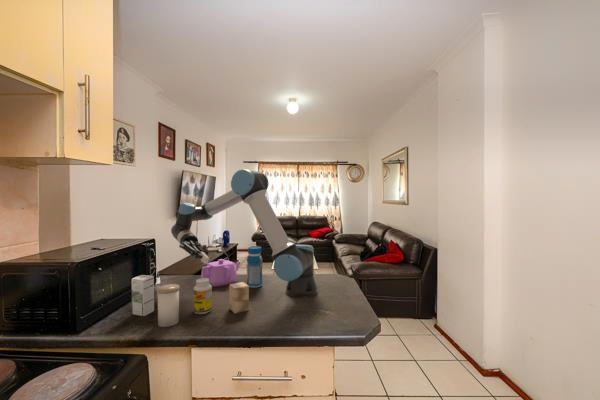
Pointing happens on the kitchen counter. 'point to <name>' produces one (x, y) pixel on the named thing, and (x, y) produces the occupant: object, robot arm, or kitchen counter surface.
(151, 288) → the syrup box
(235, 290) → the beech block
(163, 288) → the cream jar
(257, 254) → the beverage bottle
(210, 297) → the supplement bottle
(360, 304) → the kitchen counter surface
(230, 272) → the teakettle
